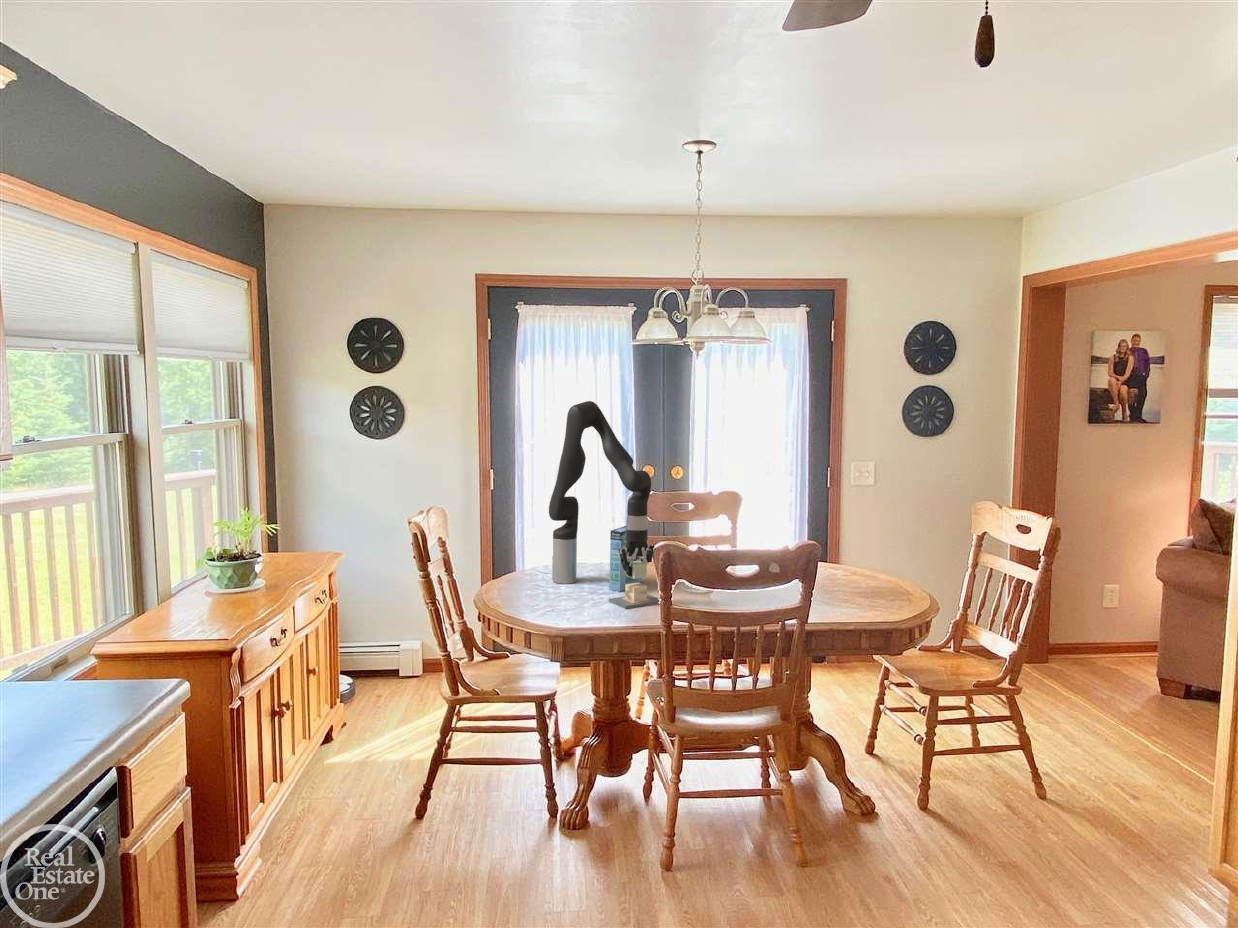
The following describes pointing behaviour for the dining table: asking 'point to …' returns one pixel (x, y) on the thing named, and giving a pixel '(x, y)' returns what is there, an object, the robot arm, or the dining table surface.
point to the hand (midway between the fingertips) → (636, 575)
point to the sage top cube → (638, 569)
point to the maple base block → (636, 592)
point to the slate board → (630, 604)
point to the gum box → (619, 561)
